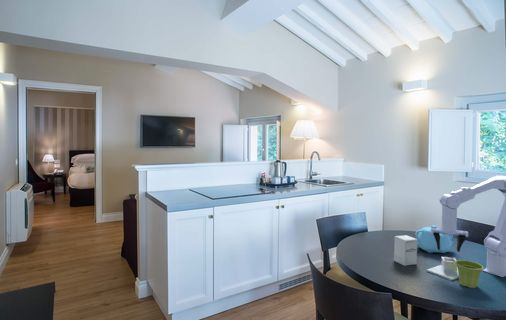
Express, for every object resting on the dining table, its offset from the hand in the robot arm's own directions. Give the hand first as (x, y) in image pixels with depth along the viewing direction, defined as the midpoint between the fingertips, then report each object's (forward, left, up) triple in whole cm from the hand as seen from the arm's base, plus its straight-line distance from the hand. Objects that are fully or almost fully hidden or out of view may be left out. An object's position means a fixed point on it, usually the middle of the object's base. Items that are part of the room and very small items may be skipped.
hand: (448, 250), depth 141 cm
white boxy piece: (0, +1, -9) cm, 9 cm away
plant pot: (+6, +12, -10) cm, 17 cm away
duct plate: (-1, +1, -10) cm, 10 cm away
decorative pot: (-22, -19, -10) cm, 31 cm away
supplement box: (+7, -16, -10) cm, 21 cm away
